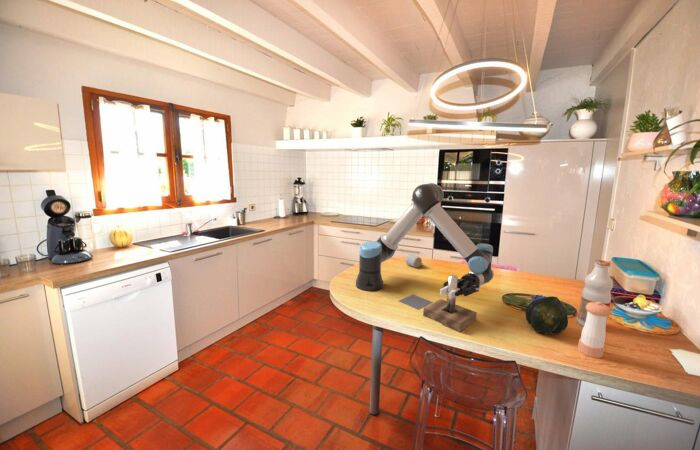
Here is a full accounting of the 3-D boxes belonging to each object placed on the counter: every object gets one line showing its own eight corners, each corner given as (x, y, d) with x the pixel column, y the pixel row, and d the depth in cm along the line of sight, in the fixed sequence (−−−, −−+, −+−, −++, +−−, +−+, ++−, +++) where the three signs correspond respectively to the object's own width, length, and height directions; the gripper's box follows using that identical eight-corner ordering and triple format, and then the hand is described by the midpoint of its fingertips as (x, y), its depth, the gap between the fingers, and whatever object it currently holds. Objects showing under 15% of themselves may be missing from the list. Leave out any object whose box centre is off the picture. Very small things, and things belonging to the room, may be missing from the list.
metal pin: (444, 309, 130) (447, 276, 127) (448, 306, 133) (451, 274, 130) (452, 312, 128) (454, 278, 125) (456, 309, 130) (459, 276, 127)
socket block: (423, 316, 133) (423, 307, 132) (440, 307, 142) (441, 299, 141) (459, 332, 120) (460, 323, 120) (475, 320, 130) (476, 312, 129)
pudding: (555, 306, 146) (556, 296, 145) (553, 315, 136) (555, 305, 135) (526, 299, 153) (527, 289, 152) (523, 308, 143) (524, 297, 142)
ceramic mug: (414, 269, 194) (415, 257, 193) (405, 265, 201) (405, 254, 199) (425, 266, 200) (426, 255, 199) (416, 263, 207) (416, 252, 206)
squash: (514, 315, 124) (546, 296, 115) (522, 304, 135) (553, 286, 127) (541, 346, 118) (577, 329, 110) (547, 333, 129) (581, 316, 121)
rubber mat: (397, 301, 147) (397, 301, 146) (412, 295, 155) (412, 294, 154) (418, 310, 138) (418, 309, 138) (433, 303, 146) (433, 302, 146)
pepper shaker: (599, 360, 104) (609, 308, 100) (574, 350, 110) (583, 300, 106) (606, 353, 108) (616, 303, 105) (581, 343, 114) (590, 295, 110)
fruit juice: (575, 317, 134) (585, 256, 129) (602, 323, 130) (614, 260, 124) (578, 327, 126) (590, 262, 121) (607, 333, 121) (621, 266, 116)
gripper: (489, 293, 135) (463, 309, 120) (454, 283, 147) (427, 296, 132) (491, 277, 134) (465, 291, 118) (456, 268, 146) (428, 279, 130)
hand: (445, 294), depth 125 cm, fingers closed on metal pin, 4 cm apart
